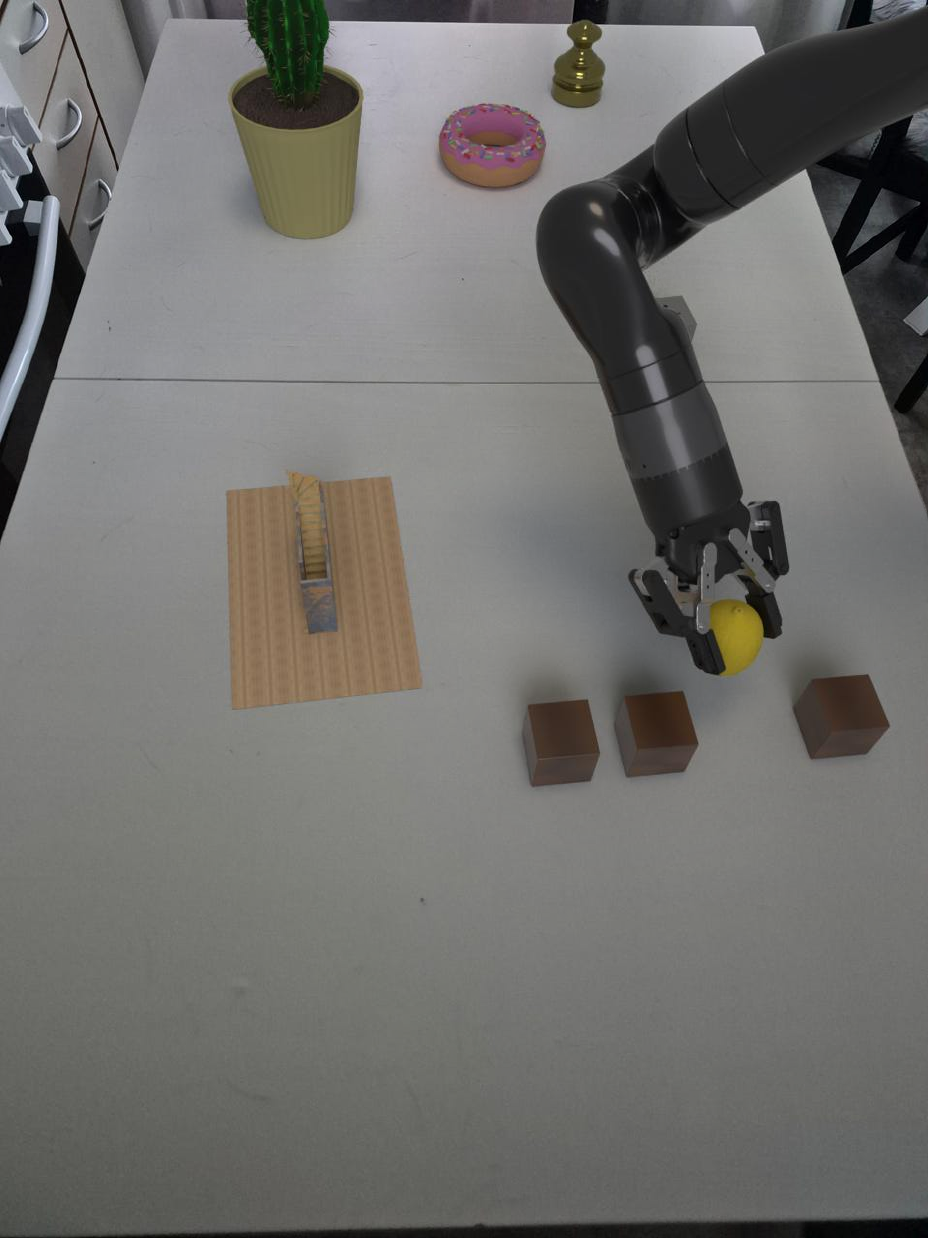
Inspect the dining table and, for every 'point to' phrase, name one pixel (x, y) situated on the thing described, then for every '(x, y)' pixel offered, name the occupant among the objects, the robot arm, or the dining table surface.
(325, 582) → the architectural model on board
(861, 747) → the walnut block
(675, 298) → the dice cube
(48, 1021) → the dining table surface
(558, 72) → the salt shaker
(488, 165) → the donut
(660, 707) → the walnut block
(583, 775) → the walnut block
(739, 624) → the lemon
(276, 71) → the potted cactus
